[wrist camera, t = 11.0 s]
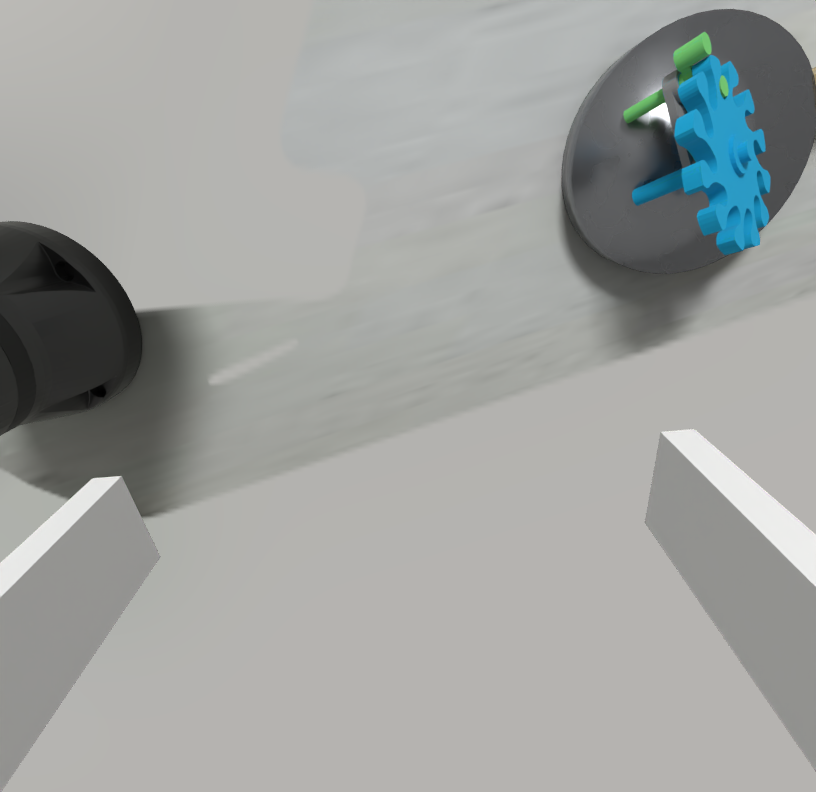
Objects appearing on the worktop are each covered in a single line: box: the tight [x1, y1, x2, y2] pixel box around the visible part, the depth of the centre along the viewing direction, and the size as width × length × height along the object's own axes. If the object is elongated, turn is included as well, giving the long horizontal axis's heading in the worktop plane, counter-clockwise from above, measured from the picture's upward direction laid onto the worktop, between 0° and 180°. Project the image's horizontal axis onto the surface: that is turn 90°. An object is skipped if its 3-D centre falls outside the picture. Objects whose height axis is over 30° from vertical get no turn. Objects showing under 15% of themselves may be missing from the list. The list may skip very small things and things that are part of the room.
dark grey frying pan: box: [562, 9, 816, 274], centre depth 27 cm, size 17×14×2 cm
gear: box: [623, 32, 770, 255], centre depth 25 cm, size 11×6×10 cm
